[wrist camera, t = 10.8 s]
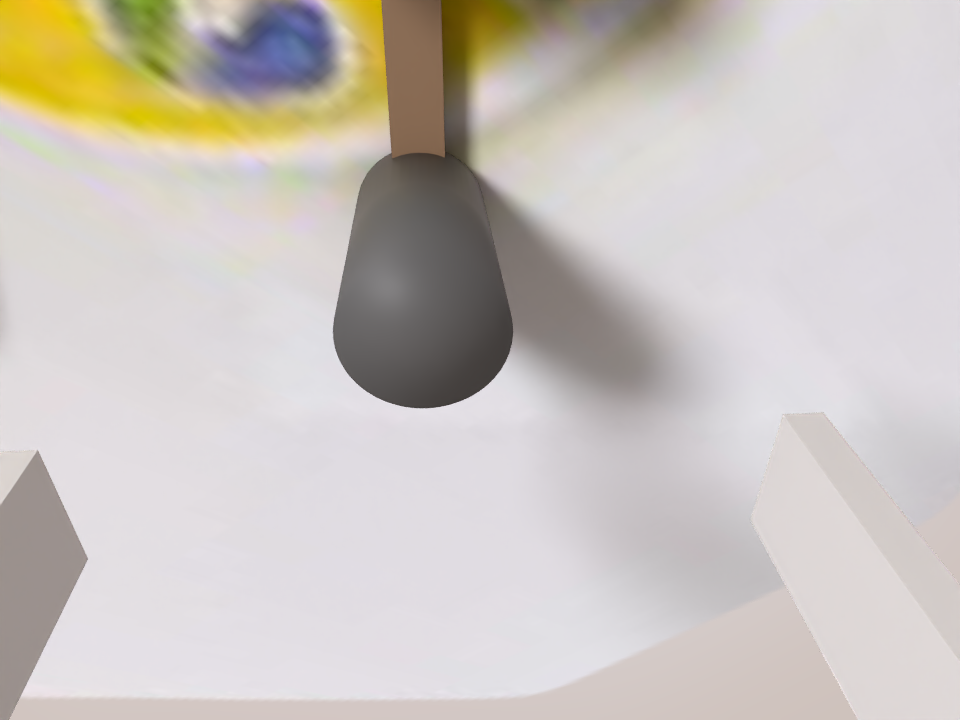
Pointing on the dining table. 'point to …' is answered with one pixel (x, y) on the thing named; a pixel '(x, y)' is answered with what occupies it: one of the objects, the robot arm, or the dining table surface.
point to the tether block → (420, 245)
